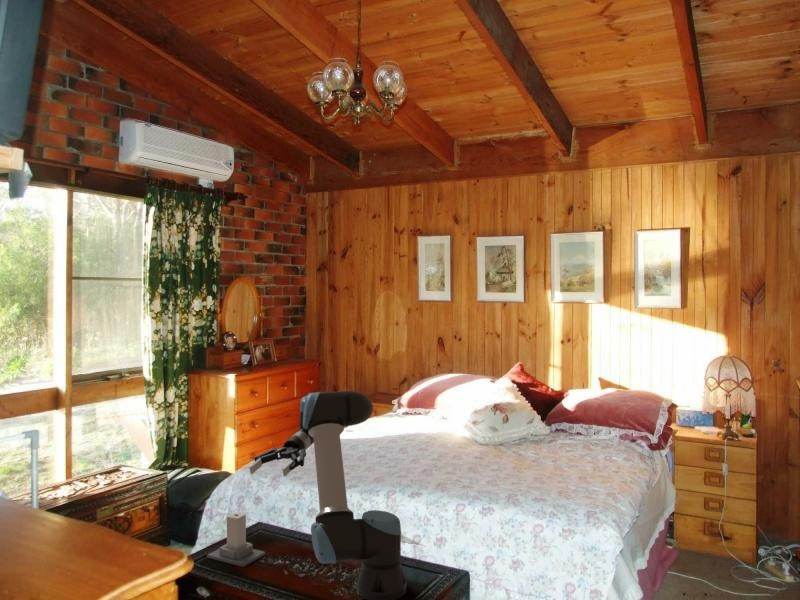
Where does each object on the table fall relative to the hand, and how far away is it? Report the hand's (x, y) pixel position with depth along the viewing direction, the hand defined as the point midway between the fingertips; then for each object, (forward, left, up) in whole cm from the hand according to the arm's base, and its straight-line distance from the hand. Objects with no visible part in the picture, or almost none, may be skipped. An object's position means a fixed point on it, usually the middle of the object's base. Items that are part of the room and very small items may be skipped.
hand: (267, 471), depth 224 cm
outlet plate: (+1, +11, -27) cm, 30 cm away
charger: (+1, +11, -26) cm, 29 cm away
